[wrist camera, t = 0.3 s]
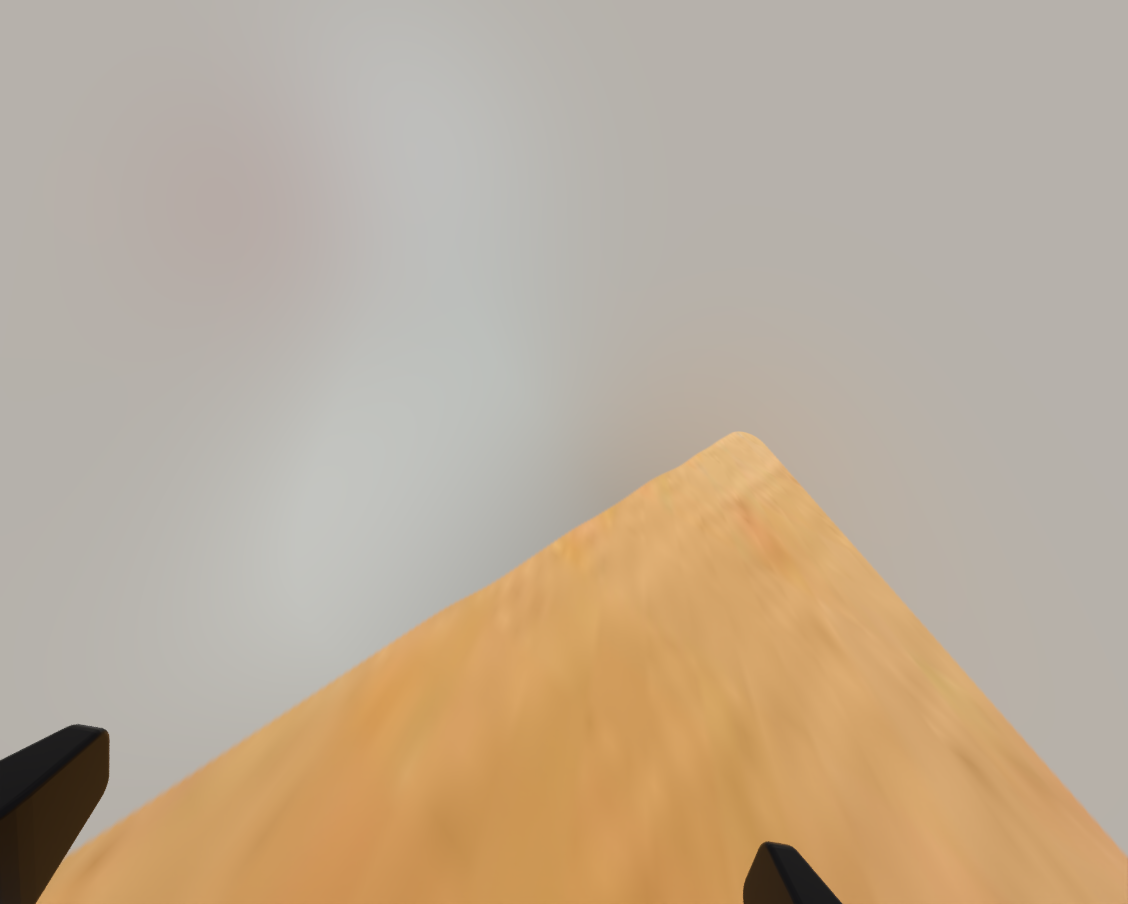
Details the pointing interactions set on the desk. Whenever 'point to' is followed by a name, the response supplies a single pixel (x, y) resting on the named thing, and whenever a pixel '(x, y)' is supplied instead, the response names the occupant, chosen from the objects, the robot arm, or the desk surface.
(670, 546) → the desk surface
